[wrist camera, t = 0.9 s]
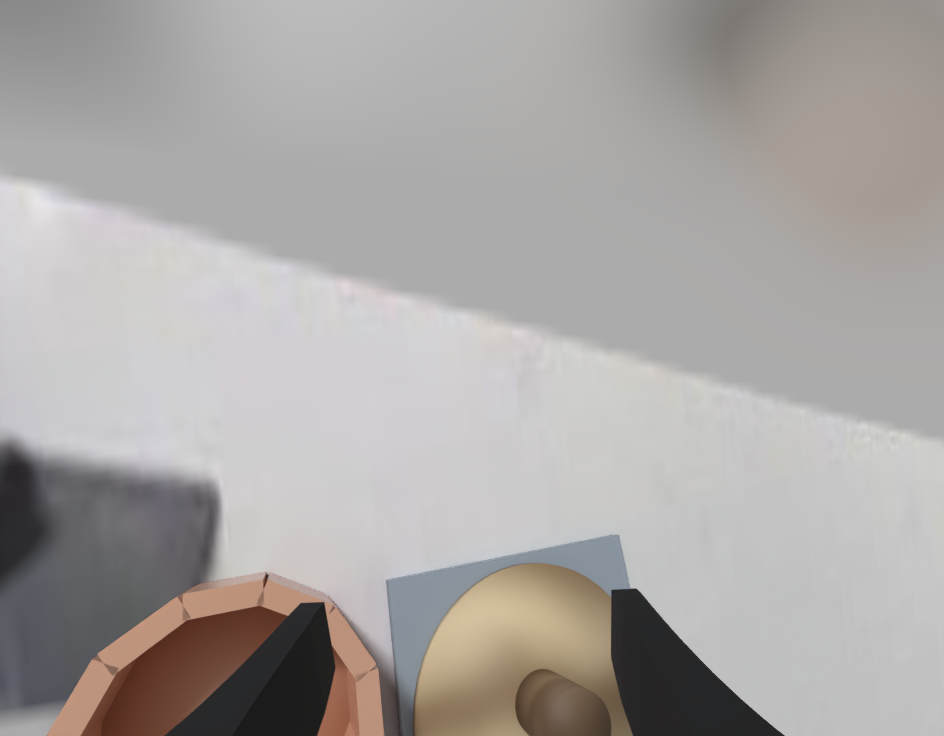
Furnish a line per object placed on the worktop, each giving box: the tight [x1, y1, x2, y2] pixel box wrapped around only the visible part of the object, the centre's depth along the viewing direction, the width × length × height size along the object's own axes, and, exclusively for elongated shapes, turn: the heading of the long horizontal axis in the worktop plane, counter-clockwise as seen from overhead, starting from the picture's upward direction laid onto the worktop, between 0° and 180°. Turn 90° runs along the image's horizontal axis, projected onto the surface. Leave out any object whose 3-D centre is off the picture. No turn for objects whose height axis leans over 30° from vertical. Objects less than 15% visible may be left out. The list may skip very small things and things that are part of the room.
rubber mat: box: [386, 535, 630, 736], centre depth 28 cm, size 15×15×1 cm
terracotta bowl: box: [47, 572, 384, 736], centre depth 21 cm, size 12×12×4 cm
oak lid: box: [413, 563, 633, 736], centre depth 25 cm, size 14×14×5 cm
